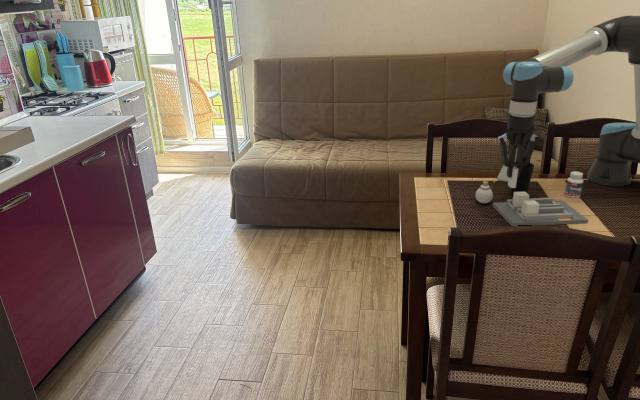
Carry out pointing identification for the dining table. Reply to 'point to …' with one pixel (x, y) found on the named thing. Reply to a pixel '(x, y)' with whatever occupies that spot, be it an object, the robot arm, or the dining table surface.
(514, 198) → the tab
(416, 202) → the dining table surface
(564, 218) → the switch board
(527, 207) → the tab
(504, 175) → the flask
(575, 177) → the pill bottle
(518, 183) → the cup
